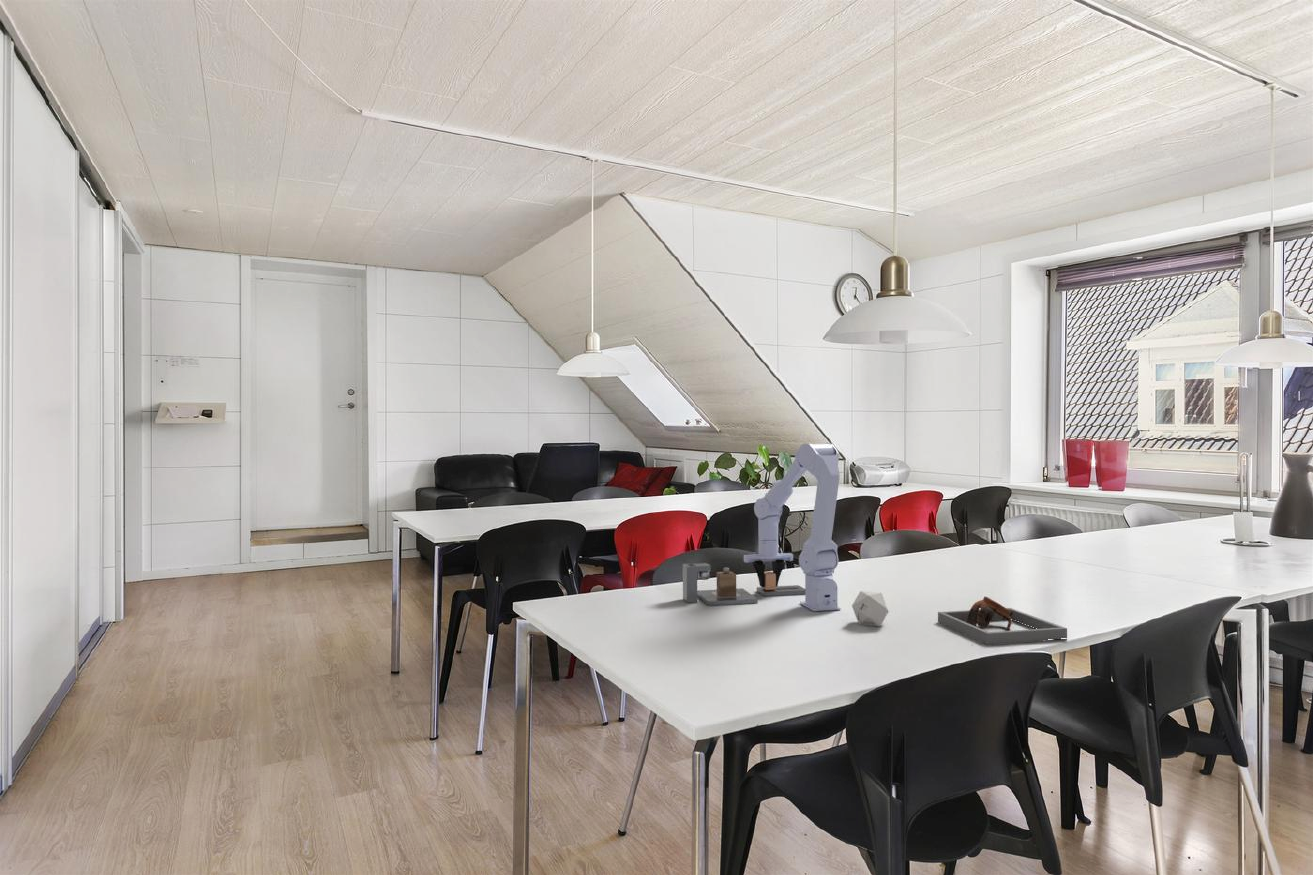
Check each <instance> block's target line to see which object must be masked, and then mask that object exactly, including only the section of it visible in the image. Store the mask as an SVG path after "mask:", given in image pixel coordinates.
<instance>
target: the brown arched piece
mask: <svg viewBox="0 0 1313 875" xmlns="http://www.w3.org/2000/svg"><path fill="white" fill-rule="evenodd" d="M1007 608H1008V607H1005V606H1003V605H1001V604H1000V603H999V602H997V601H995V600H994V599H992V598H990V597H988V596H983V598H982V599H981V600H977V601H976V602H974V604H972V606H971V607H970V609H969V610H970V611H969V614H968V618H967V622H966V623H969V624H971V625H973V626H976V627H978V628H980V629H988V627H989V625H990V623H991V621H993V620H992V618H993V616H994V612H995V613H997V614H999V615H1000V616H1003V618H1004V619H1003V620H1006V621H1008V624H1007V625H1006V626H1007V627H1006V629H1007V631H1010V629H1011V627H1012V626H1011V625H1012V624H1013V623H1012V622H1013V620H1011V615H1012V614H1013V612H1012V611H1010V610H1008V609H1007Z"/></svg>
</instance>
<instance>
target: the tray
mask: <svg viewBox="0 0 1313 875" xmlns="http://www.w3.org/2000/svg"><path fill="white" fill-rule="evenodd" d="M1006 608H1007V609H1008V610H1010V611H1012V612H1013V614H1012V615H1011V619H1013V620H1016V621H1019V622H1021V623H1023V624H1022V625H1024V624H1026V625H1029V626H1032V627H1034V628H1037V629H1034V628H1032V629H1018V630H1017V629H1015V630H1002V631H987V630H985V629H984V628H980V627H979V626H977V625H976V626H973V625H971V624H969V623H966V622H967V618H968V614H969V611H970V609H969V610H953V611H952V610H951V611H949V610H948V611H937V622H938V623H939V624H941V625H944V626H946V627H948V628H950V629H952V630H955V631H956V632H958V633H960V634H963V635H965V636H967V637H970V638H972V639H974V640H977V641H978V642H980V643H983V644H985V645H987V646H992V645H1001V644H1002V645H1005V644H1018V643H1032V642H1033V643H1034V641H1037V642H1044V641H1043V640H1048V639H1061V638H1067V639H1068V628H1067V627H1063V626H1062V625H1059V624H1055V623H1053V622H1050V621H1048V620H1045V619H1041V618H1039V617H1037V616H1034V615H1030V614H1028V613H1025V612H1022V611H1019V610H1017V609H1014V608H1012V607H1006ZM995 619H1001V620H1005V619H1004V618H1003V616H1000V615H999V614H997V613H995V612H994V616H993V618H992V620H991V621H996V620H995ZM1013 620H1012V621H1013ZM1016 621H1015V622H1016ZM1021 623H1020V624H1021ZM1026 625H1025V626H1026ZM1029 626H1028V627H1029Z"/></svg>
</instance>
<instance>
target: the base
mask: <svg viewBox="0 0 1313 875" xmlns="http://www.w3.org/2000/svg"><path fill="white" fill-rule="evenodd" d="M756 592H757V593H758V594H760V595H762V596H763V597H779V596H780V597H781V596H783V597H784V596H799V595H801V596H802V595H805V587H802V586H801V585H798V584H797V585H796V584H795V585H778V586H776V590H765V589H764V588H762V587H761V586H757V587H756Z"/></svg>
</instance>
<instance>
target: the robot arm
mask: <svg viewBox="0 0 1313 875" xmlns="http://www.w3.org/2000/svg"><path fill="white" fill-rule="evenodd" d="M839 459H840V453H839V451H838V450H837V448H836V447H835V445H833V443H831V442H825V443H802V444H801V445H800V446H799V447H798V449H797V451H795V453H794V459H793V462H792V463H791V464H790V466H789V467H788V469H787V471H786V473H785V474H784V475H783V477H782V479H777V480H776V481H773V482H772V486H771V487H770V489H769V490H768V492H767V493H765V494H764V496H763V497H762V498H757V499H756V500H755V502H754V505H753V511H754V515H755V517H757V520H758V524H757V525H758V529H757V530H758V531H757V532H758V553H754V554H753V553H752V554H744V555H743V562H744V563H746V564H747V563H751V564H752V566H753V568H754V570H755V572H756V575H757V579H758V583H759V584H758V585H759V587H764V572H766V564H764V562H771V565H772V566H771V567H772V572H773V573H775V574H776V586H779V585H778V584H779V581H780V577H781V574H782V572H783V570H784V568H785V567H786V562H785V561H789V562H793V561H794V554H793V553H792V552H788V553H785V552H783V553H782V552H780V553H779V523H780V522H781V521H780V520H781V519H780V518H781V516H782V514H783V510H784V509H783V506H784V505H785V503H787V501H788V500H789V498H790V497H791V496H792V494H793V492H794V490H793V487H794V486H795V485H796V483H797V482H798V481H799V480H800V479H801V477H803V476H804V474H805V473H806V472H807V471H808V472H809V473H810V474H811V475H812V476H814V478H815V479H816V480H817V482H816V483H817V484H816V485H817V486H816V491H815V498H814V499H815V500H814V508H813V517H812V523H811V524H812V525H811V531H810V536H809V538H807V540H806V541H805V542H804V543H803V544H802V551H801V552H800V554H799V557H798V565H799V567H800V569H801V571H803V572H802V573H803V574H804V578H805V580H804V581H805V582H804V585H805V587H804V589H805V594H804V595H805V596H804V597H805V600H804V601H803V600H801V601H800V602H799V604H801V605H802V606H804V607H806V608H807V609H809V611H813V612H817V611H818V612H820V611H822V612H823V611H835V610H837V611H838V610H842V607H841V606H839V605H838V585H837V582H836V581H835V579H834V578H833V574H835V570H836V569H837V567H838V565H839V555H838V548H839V546H838V544H836V543H835V542H834V541H833V539H832V538H833V531H834V524H835V523H834V522H835V514H836V508H837V507H836V506H837V501H838V499H837V498H838V491H839V482H840V471H839V469H840V468H839Z"/></svg>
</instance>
